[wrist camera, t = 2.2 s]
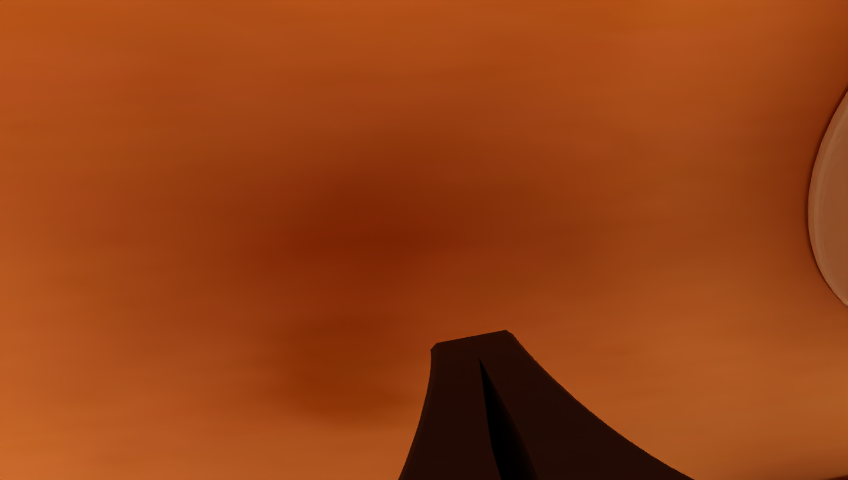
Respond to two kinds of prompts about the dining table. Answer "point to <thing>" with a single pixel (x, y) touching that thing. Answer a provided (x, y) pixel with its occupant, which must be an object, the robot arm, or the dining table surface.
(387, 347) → the dining table surface
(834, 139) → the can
